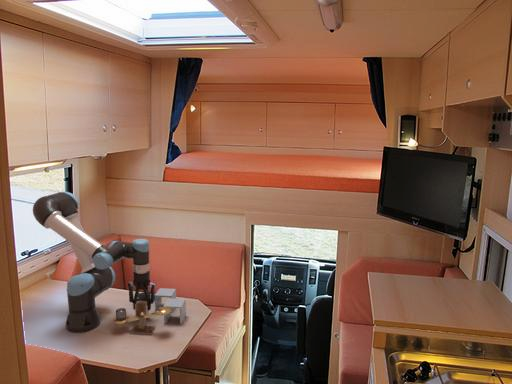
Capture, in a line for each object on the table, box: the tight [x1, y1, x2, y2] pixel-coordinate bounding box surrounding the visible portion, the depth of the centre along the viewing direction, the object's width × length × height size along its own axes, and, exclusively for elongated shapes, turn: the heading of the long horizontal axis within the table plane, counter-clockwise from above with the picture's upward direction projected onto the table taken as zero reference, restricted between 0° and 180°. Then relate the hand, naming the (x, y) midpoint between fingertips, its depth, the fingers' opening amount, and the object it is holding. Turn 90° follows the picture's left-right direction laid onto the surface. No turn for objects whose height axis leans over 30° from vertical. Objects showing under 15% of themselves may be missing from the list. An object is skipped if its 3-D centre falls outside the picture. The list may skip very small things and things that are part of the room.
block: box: [135, 301, 147, 317], centre depth 198 cm, size 4×4×7 cm
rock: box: [137, 290, 151, 302], centre depth 212 cm, size 9×10×6 cm
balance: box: [113, 305, 172, 336], centre depth 186 cm, size 27×7×11 cm, turn 86°
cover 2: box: [163, 297, 187, 325], centre depth 197 cm, size 9×9×9 cm
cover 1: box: [154, 287, 177, 314], centre depth 208 cm, size 9×9×9 cm
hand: (142, 315), depth 199 cm, fingers closed on block, 4 cm apart
